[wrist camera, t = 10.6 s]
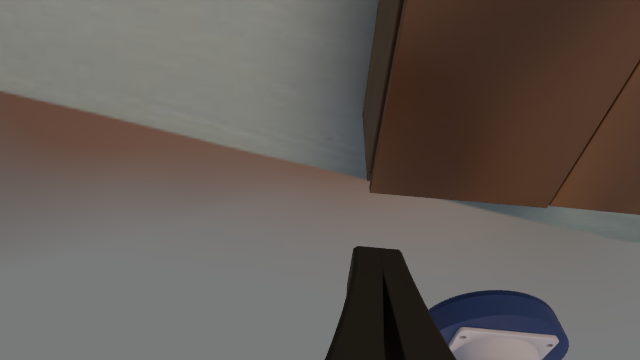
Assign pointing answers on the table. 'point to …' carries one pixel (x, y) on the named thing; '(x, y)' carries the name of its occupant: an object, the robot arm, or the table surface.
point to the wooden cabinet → (491, 94)
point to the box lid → (609, 159)
